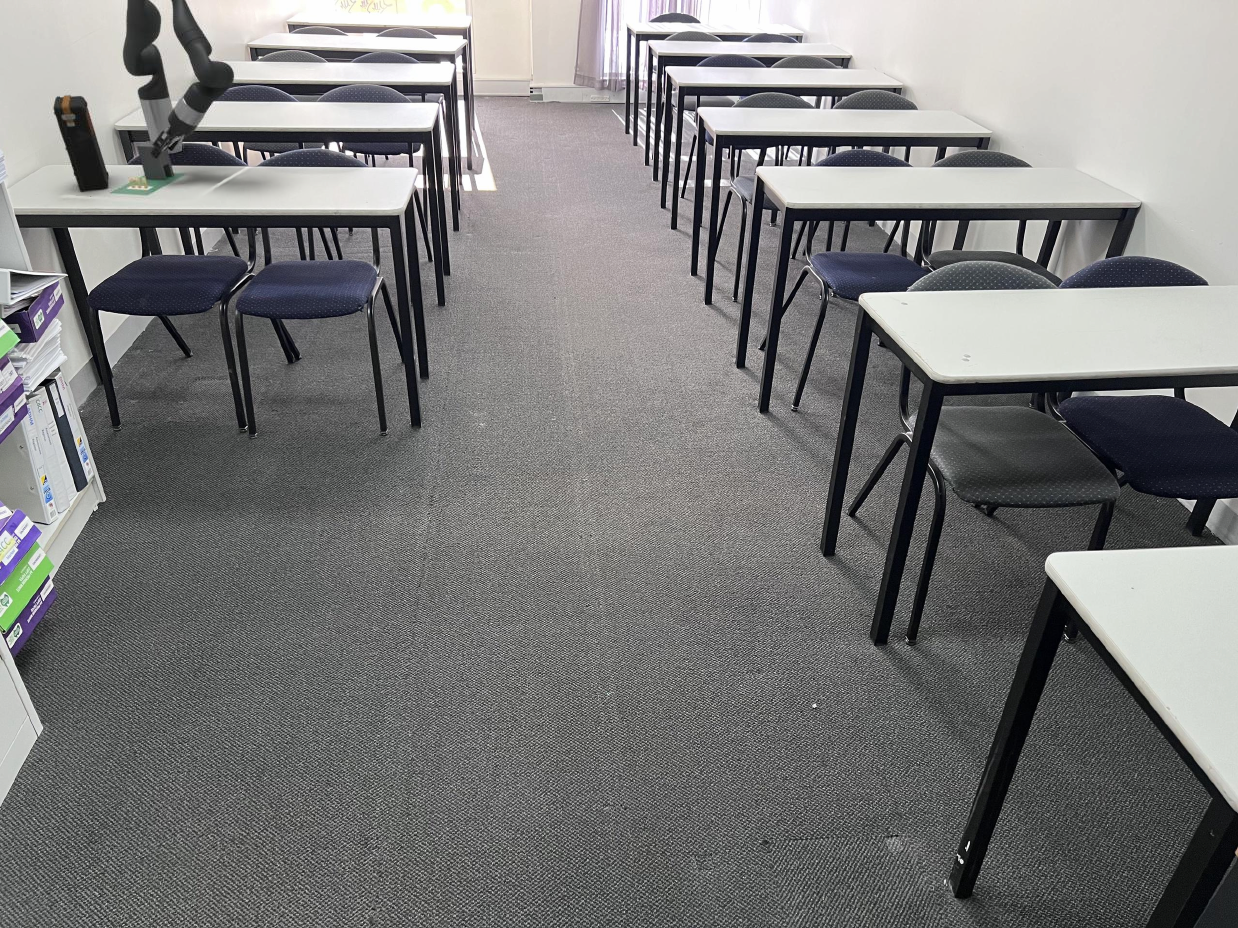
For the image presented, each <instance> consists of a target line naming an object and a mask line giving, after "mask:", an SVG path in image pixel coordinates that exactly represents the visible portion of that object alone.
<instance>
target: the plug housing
mask: <svg viewBox="0 0 1238 928" xmlns="http://www.w3.org/2000/svg"><path fill="white" fill-rule="evenodd" d="M153 143H154V142H151V140H150V141H147V140H146V141H145V142H143V143H140V144H138V145H136V148H137V151H138V155H139V159H140V163H141V166H142V170H143V173H144V175H145V177H146V179H147V180H166V179H167V178H166V176H174V173H175V172H174V169H173V165H172V162H171V158H170V155H169V154H168V150H167V147H166V148H165V149H164V150H163V151H162V153H161V154H160V156H159V157H158V158H157V159H155V158H154V157H153V156H152V155H151V154H150V153H151V151H152V150H153V149H154V146H153ZM159 144H160V145H161V143H159Z"/></svg>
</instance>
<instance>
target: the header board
mask: <svg viewBox="0 0 1238 928" xmlns="http://www.w3.org/2000/svg"><path fill="white" fill-rule="evenodd" d="M173 173H174V176H166V178H167V179H166V180H147V179H146V177H145V174H144V175H142V176H140V177H135V179H134V177H133V176H130V177H128V179H129V182H127V183H126V184H124V185H122V186H121V187H118V188H116V189H114V190H113V191H110V192H109V194H118V195H137V196H138V195H139V196H149V195H151V194H152V193H154V192H156V191H158V190H160V189H162V188H164V187H166V186H168V185H170V184H172V183H173V182H175V181H176V180H179V179H181V178H182V177H184V176H186V175H187V173H179V172H173Z"/></svg>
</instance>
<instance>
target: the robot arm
mask: <svg viewBox="0 0 1238 928" xmlns="http://www.w3.org/2000/svg"><path fill="white" fill-rule="evenodd" d="M170 1H171V5H172V27H173V28H172V29H173V32H174V34H175V36H176V38H177V40H178V42H179V44H181V46H182V48H183V49H184V51H185V52H186V54H187V56H188V59H189V63H190V65H191V67H192V68H191V69H192V70H193V73H194V75H195V77H196V79H197V80H198V81H197V82H193V83H192V84H190V86H189V87H188V89H187V90H186V91H185V93H184V95H183V96H181V98H180V99H179V100H178V101H177V103H176V104H175V106H174V107H173V104H172V99H171V97H170V93H169V87H168V86H169V85H168V83H167V78H166V73H165V68H164V63H163V59H162V56H161V52H160V50H159V48H158V47H157V46H156V44H154V43H155V41H157V40H158V38H159V36H160V34H161V28H162V16H161V12H160V9H158V8H157V6H156V5H155V4H154V3H153V2H152V1H151V0H127V5H126V6H127V8H126V14H125V15H126V16H125V17H126V18H125V19H126V20H125V23H126V24H125V25H126V32H125V34H126V35H125V38H124V39H125V40H124V43H123V48H122V60H123V65H124V68H125V69H126V71H127V72H128V74H130V75H131V76H134V77H145V76H146V77H149V76H151V77H152V78H151V79H150V80H149V82H147V83H146V84H144V85H142V86H140V87H138V89H137V96H138V99H139V102H140V106H141V110H142V113H143V117H144V121H145V124H146V128H147V132H148V135H149V139H150V141H151V142H154V143H153V146H154V149H153V150H152V151H151V153H150V154H151V155H152V156H153V157H154V158H155V159H157V158H158V157H159V156H160V154H161V153H162V151H163V150H164V149H165V148H166V147H167V150H168V154H175V153H179V152H182V151H183V150H182V144H183V145H184V142H183V141H184V140H185V139H186V137H187V136H191V135H193V133H194V132H195V131H196V129H197V128H198V127H199V125H200V123H201V122H202V120H204V117H205V115H206V114H207V112H208V110H209V108H211V106H212V105H213V103H214V102H215V101H216V100H218V99H219V98H221V96H223V95H224V94H225V93H226V92H227V91H228V90H229V89H231V86H232V85H233V84H234V80H235V72H234V70H233V68H232V67H231V65H230V64H228V63H226V62H224V61H219V60H212V59H210V56H211V54H212V53H213V48H212V45H211V43H210V41H209V40H208V38H207V36H206V35H205V33H204V32H203V30H202V28H201V27H200V25H199V24H198V23H197V21H196V18H195V17H194V15H193V13H192V11H191V9H190V7H189V5H188V3H187V1H186V0H170ZM159 143H161V145H160V144H159Z"/></svg>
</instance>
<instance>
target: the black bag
mask: <svg viewBox="0 0 1238 928" xmlns="http://www.w3.org/2000/svg"><path fill="white" fill-rule="evenodd" d="M53 103H54V104H53V107H52V109H53V115H55V118H56V121H57V125H58V128H59V131H60V134H61V137H62V140H63V142H64V145H65V151H66V153H67V155H68V158H69V161H70V162H69V163H70V164H71V168H72V171H73V176H74V177H75V179H76V183H77V187H78V189H79V191H80V192H81V193H84V192H92V191H94V192H95V191H103V190H107V189H108V188H109V177H110V176H109V175H110V174H109V172H108V171H107V167H106V165H105V162H104V157H103V154H102V151H101V148H100V145H99V141H98V137H97V135H96V131H95V127H94V125H93V121H92V118H91V115H90V111H89V109H88V101H87V100H86V99H85V98H84V96H82V95H75V96H73V95H71V94H66V95H63V96H62V97H61V96H60V95H59V96H56V97H55V99H54V102H53Z"/></svg>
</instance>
